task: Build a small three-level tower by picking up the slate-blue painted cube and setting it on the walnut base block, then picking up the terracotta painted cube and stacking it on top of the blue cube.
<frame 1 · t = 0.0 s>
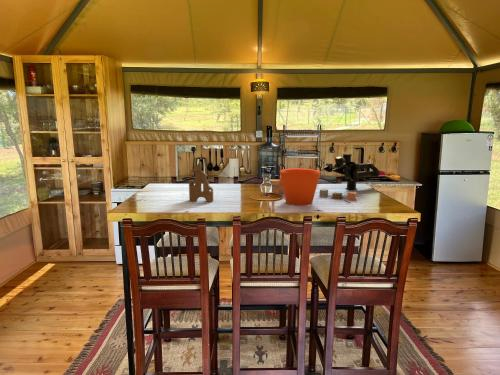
hand: (327, 169, 245), 17 cm above the table, tool horizontal, fingers open, 9 cm apart
flowerpot: (299, 202, 218), on the table
terracotta block: (351, 199, 228), on the table
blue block: (323, 196, 237), on the table
walnut base: (337, 197, 232), on the table
wooden toy: (201, 201, 221), on the table
stack of blocks: (281, 193, 247), on the table
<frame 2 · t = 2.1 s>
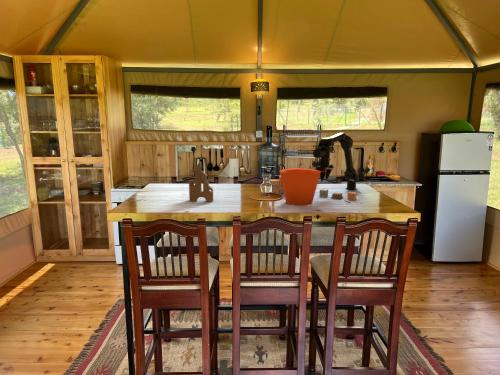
hand: (324, 180, 235), 11 cm above the table, tool pointing down, fingers open, 9 cm apart
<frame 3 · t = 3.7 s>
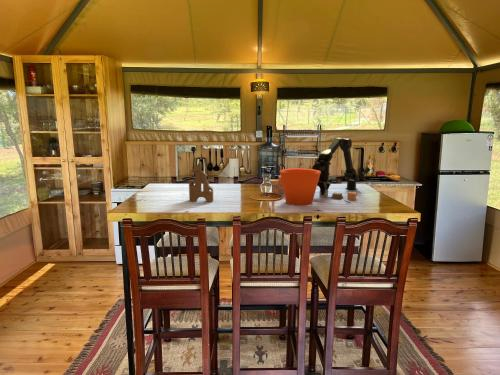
hand: (323, 194, 237), 1 cm above the table, tool pointing down, fingers closed on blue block, 4 cm apart
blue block: (323, 196, 237), on the table, touching gripper
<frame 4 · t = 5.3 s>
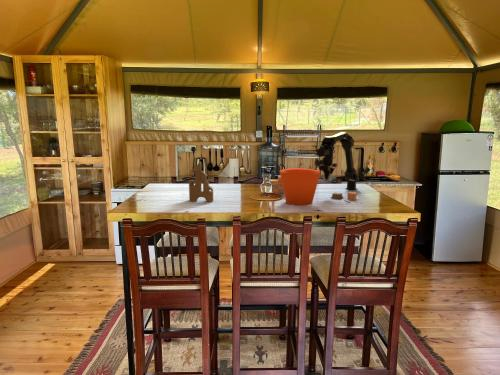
hand: (327, 179, 234), 12 cm above the table, tool pointing down, fingers closed on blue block, 4 cm apart
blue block: (327, 180, 234), point 11 cm above the table, touching gripper
when the fingers open (5 cm above the table, at t = 7.4 s): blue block stays where it is, resting on walnut base.
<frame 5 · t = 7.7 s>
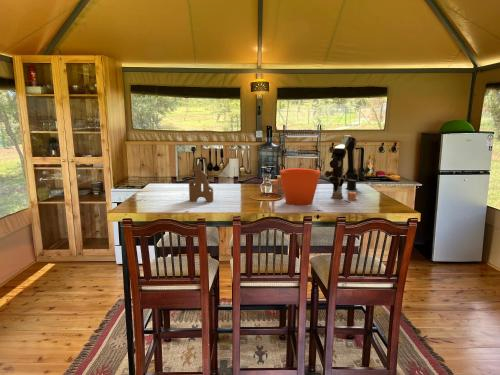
hand: (337, 190, 231), 5 cm above the table, tool pointing down, fingers open, 8 cm apart
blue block: (337, 193, 231), point 3 cm above the table, touching walnut base
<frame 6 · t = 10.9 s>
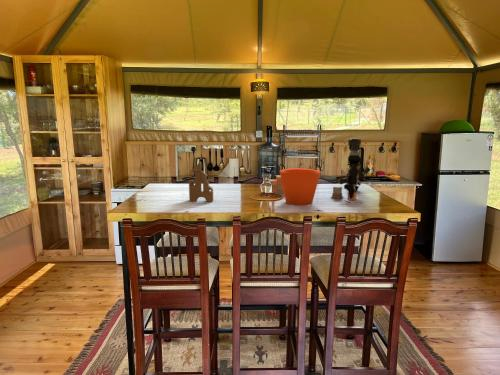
hand: (351, 197, 227), 1 cm above the table, tool pointing down, fingers closed on terracotta block, 4 cm apart
terracotta block: (351, 199, 228), on the table, touching gripper
when the fingers open (9 cm above the table, at t = 14.0 s): terracotta block stays where it is, resting on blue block.
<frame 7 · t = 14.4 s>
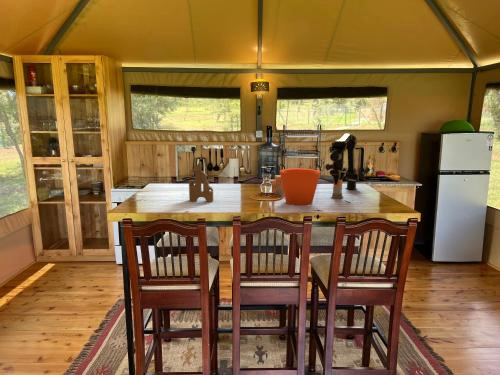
hand: (337, 183, 230), 9 cm above the table, tool pointing down, fingers open, 8 cm apart
terracotta block: (337, 186, 230), point 7 cm above the table, touching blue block
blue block: (337, 193, 231), point 3 cm above the table, touching terracotta block, walnut base
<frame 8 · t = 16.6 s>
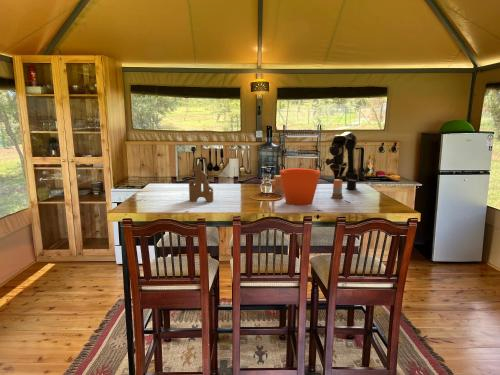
hand: (338, 178, 229), 13 cm above the table, tool pointing down, fingers open, 9 cm apart
at the end: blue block 0.0 cm off-centre on the walnut base, point 3.0 cm above the walnut base's base; terracotta block 0.0 cm off-centre on the walnut base, point 7.5 cm above the walnut base's base; terracotta block tilted 0° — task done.
